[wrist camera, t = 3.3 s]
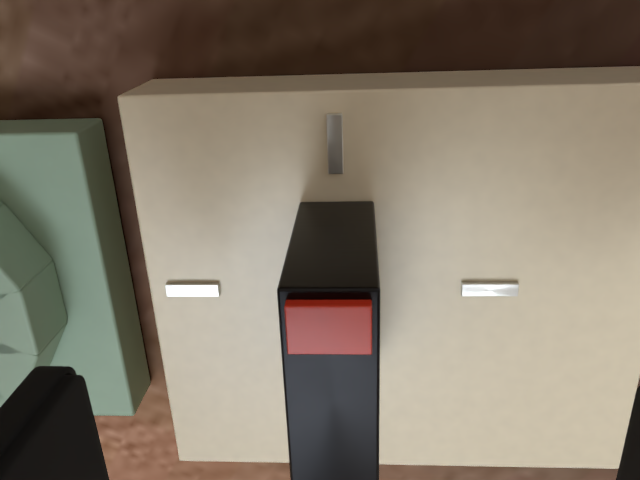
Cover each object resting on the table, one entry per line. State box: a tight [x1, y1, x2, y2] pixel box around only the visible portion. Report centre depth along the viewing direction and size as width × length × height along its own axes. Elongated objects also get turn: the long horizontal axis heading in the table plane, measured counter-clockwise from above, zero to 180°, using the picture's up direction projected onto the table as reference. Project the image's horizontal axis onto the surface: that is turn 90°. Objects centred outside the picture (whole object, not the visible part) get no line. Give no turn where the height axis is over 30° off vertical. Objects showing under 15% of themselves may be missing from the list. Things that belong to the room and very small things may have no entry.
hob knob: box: [277, 201, 380, 480], centre depth 13 cm, size 5×2×5 cm, turn 2°
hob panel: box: [117, 66, 640, 469], centre depth 16 cm, size 13×11×3 cm
